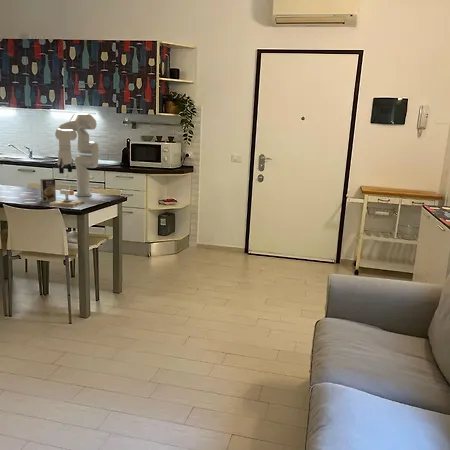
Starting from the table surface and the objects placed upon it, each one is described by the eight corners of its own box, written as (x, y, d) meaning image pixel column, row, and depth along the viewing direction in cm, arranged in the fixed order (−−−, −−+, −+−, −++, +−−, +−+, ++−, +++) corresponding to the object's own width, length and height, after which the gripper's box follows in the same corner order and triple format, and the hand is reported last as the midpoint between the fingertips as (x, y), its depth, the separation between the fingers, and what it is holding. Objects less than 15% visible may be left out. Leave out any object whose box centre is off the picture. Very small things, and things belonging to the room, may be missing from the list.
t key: (59, 200, 333) (59, 189, 331) (63, 199, 337) (62, 189, 335) (71, 202, 330) (70, 190, 329) (74, 201, 335) (74, 190, 333)
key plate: (63, 201, 345) (63, 198, 344) (84, 203, 340) (84, 200, 340) (49, 205, 329) (49, 202, 328) (70, 207, 324) (70, 204, 324)
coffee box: (43, 202, 339) (42, 180, 335) (41, 200, 344) (39, 178, 340) (56, 201, 344) (55, 179, 341) (53, 199, 349) (52, 178, 346)
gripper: (67, 147, 334) (68, 171, 338) (52, 148, 318) (53, 173, 322) (76, 147, 332) (77, 171, 336) (62, 149, 316) (63, 174, 320)
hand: (65, 172), depth 329 cm, fingers open, 9 cm apart
